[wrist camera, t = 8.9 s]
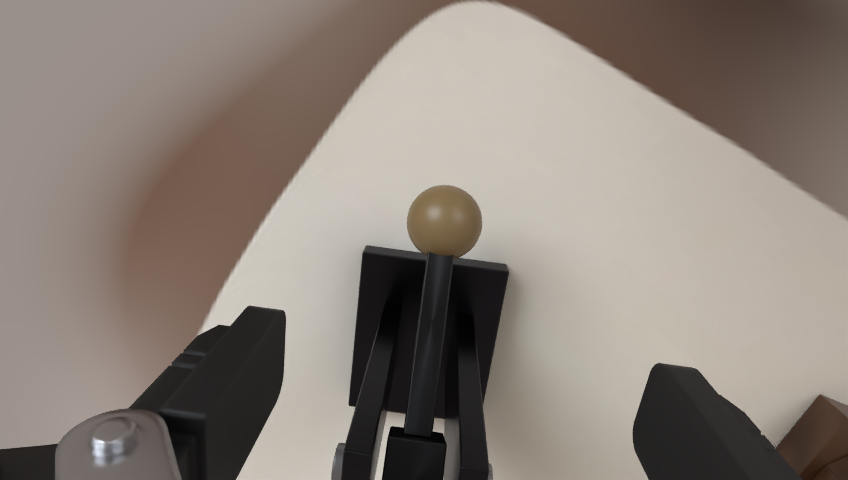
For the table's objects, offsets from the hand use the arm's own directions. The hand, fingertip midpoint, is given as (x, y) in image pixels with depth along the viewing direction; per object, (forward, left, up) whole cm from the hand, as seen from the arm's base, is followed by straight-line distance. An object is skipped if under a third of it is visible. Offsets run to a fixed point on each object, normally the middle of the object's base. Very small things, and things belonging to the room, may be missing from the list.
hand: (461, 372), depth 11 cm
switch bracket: (+8, +2, -17) cm, 19 cm away
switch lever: (+5, +1, -10) cm, 11 cm away
